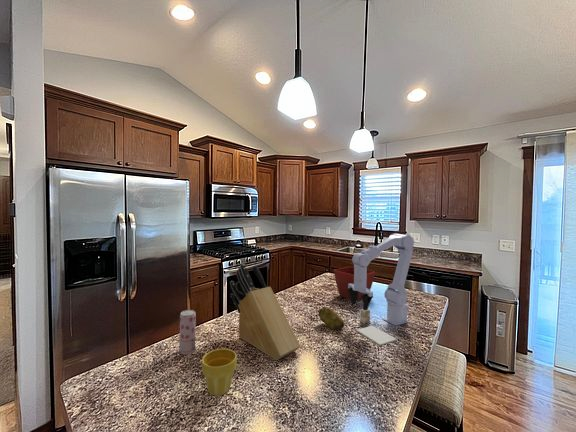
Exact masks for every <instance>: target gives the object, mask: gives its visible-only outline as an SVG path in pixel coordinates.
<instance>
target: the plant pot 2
mask: <svg viewBox="0 0 576 432" xmlns="http://www.w3.org/2000/svg"><path fill="white" fill-rule="evenodd" d="M375 273H376V271H374V270H370V269H367V280H366V288H367V289H369V290H370V291H371V289H372V286H373V283H374V279H375V276H376V274H375ZM333 274H334V280H335V283H336V287H337V292H338V294H339V296H340V297H343V298H346V299H348V298H349V300H351V298H350V295H349V293H348V289H350V288H348V284H354V266H346V267H340V268H336V269H334V270H333ZM361 295H365V294H364V293H361V292H359V291H358V294H357V302H358V301H360V300H361V301H362V297H361Z"/></svg>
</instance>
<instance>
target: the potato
mask: <svg viewBox="0 0 576 432" xmlns="http://www.w3.org/2000/svg"><path fill="white" fill-rule="evenodd" d="M318 317H319V319H320V322H321V321H322V322H323V323H324V324H325V327H327V328H329V329H331V330H342V329H344V327H345V321H344V320H343V318H342V317H341V316H340V315H339V314H338V313H337V312H336V311H334V310H333V309H332V308H330V307H327V306H324V307H321V308H320V309H319V310H318Z"/></svg>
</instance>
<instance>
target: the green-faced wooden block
mask: <svg viewBox="0 0 576 432" xmlns="http://www.w3.org/2000/svg"><path fill="white" fill-rule="evenodd" d="M359 316H360V317H359V318H360V321H359V322H361V323H362V324H367V323H370V322H371V309H369V308H368V309H367V310H363V308H362V309H360V313H359Z"/></svg>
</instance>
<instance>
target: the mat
mask: <svg viewBox="0 0 576 432" xmlns="http://www.w3.org/2000/svg"><path fill="white" fill-rule="evenodd" d="M356 332H357V333H359V334H361V335H362V336H363V337H365V338H367V339H369V341H372V342H373V343H375V344H377V345H378V346H383V345H387V344H390V343H393V342H397V341H398V339H397V338H396V337H394V336H392V335H390V334H388V333H386V332H385V331H383V330H382V329H379V328H378V327H376V326H374V325H371V326H370V325H369V326H366V327H362V328H358V329H356Z"/></svg>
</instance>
